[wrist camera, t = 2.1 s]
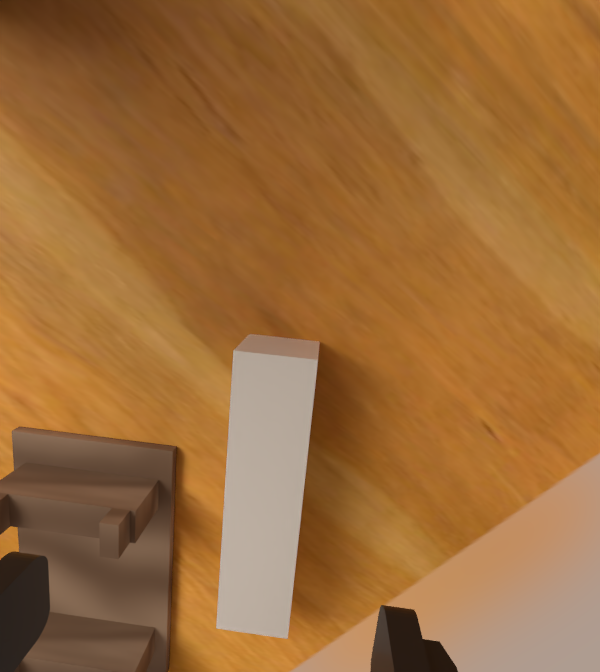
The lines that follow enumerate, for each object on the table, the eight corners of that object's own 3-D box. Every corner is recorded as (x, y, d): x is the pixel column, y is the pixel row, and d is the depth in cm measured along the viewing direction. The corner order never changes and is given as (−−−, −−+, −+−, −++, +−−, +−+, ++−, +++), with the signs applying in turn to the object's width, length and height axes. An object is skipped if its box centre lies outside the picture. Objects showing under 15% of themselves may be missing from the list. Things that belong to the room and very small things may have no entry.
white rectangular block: (250, 332, 23) (233, 350, 19) (320, 340, 23) (318, 359, 19) (233, 569, 26) (216, 628, 22) (294, 578, 26) (287, 638, 22)
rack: (19, 426, 25) (-53, 467, 20) (176, 446, 24) (140, 493, 20) (31, 646, 28) (-27, 725, 24) (168, 667, 28) (136, 751, 23)
